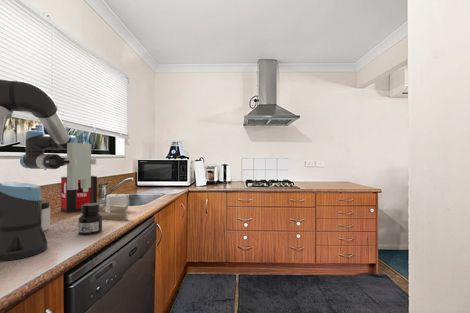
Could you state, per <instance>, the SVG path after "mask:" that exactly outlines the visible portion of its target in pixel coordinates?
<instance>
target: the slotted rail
mask: <svg viewBox="0 0 470 313" xmlns="http://www.w3.org/2000/svg"><path fill="white" fill-rule="evenodd" d="M128 207H129V206H128V205H126V206H121V205H112V206H110V211H106V204H105V203H104V204H102V203H100V212H99V214H100V215H102V220H109V221H110V220H112V221H127V220H128V219H129V218H128V217H129V216H128V215H129V214H128V211H129V210H128V209H129V208H128Z"/></svg>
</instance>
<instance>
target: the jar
mask: <svg viewBox="0 0 470 313" xmlns="http://www.w3.org/2000/svg"><path fill="white" fill-rule="evenodd" d="M41 226H42V229H43V232H44V231H45V232H46V230H50V228H51V207H50V201H48V200H42V214H41Z"/></svg>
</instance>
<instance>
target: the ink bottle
mask: <svg viewBox="0 0 470 313" xmlns="http://www.w3.org/2000/svg"><path fill="white" fill-rule="evenodd" d="M100 204H101V203H99V202H97V203H87V204H82V210H81V212H80V213H81V215H80V216H79V217H78V221H77V224H78V228H77V231H78V232H77V233H78V234H79V235H83V236H87V235H88V236H89V235H95V234H99V233H101V232H102V231H103V219H102V215H100V214H99V212H100Z"/></svg>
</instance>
